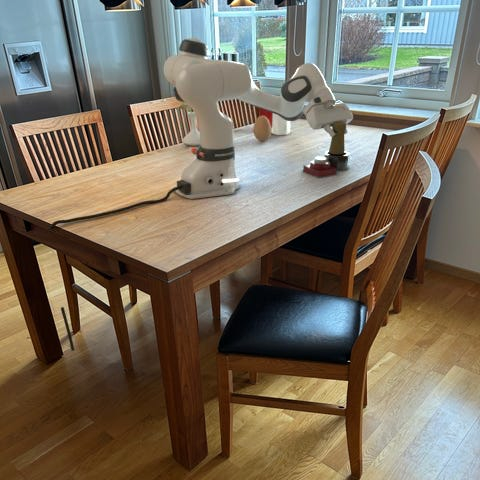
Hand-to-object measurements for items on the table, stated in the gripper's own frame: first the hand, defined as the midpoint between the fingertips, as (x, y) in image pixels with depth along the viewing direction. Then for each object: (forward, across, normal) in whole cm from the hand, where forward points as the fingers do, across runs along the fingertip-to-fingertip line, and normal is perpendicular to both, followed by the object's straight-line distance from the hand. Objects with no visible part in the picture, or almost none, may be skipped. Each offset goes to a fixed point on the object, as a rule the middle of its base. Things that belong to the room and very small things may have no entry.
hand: (339, 134), depth 182 cm
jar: (-33, -24, -52) cm, 66 cm away
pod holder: (+8, 0, -9) cm, 12 cm away
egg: (-29, -6, -47) cm, 55 cm away
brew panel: (+9, +10, -9) cm, 16 cm away
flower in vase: (-40, +22, -58) cm, 74 cm away
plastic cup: (-44, -28, -63) cm, 82 cm away
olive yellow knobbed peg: (+4, 0, -5) cm, 7 cm away
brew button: (+7, +10, -6) cm, 13 cm away
